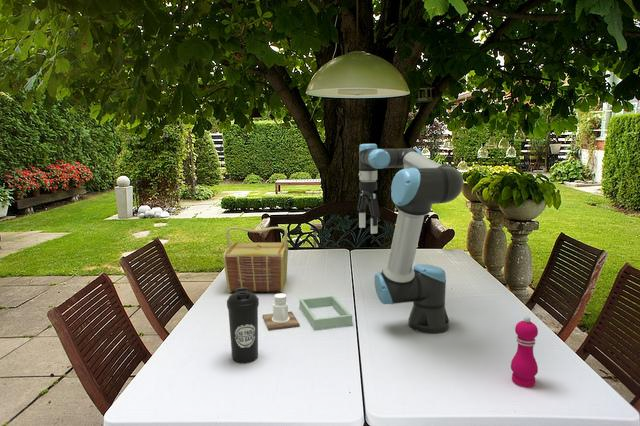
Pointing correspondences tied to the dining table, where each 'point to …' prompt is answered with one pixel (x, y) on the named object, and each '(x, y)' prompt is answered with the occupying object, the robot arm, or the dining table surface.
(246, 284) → the picnic basket
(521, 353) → the pepper mill
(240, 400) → the dining table surface
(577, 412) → the dining table surface
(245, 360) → the water bottle
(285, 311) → the downlight
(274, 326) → the pad
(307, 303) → the bin
